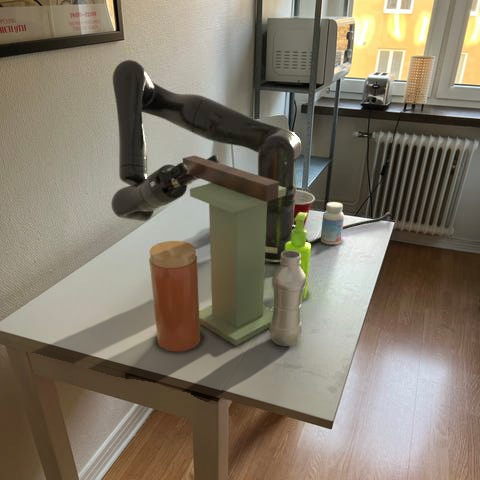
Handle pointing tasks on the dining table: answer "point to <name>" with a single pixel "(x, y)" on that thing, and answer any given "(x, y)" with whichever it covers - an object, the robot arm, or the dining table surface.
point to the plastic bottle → (287, 299)
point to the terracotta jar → (175, 294)
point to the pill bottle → (332, 223)
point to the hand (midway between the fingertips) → (201, 163)
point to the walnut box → (232, 178)
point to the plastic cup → (302, 204)
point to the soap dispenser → (300, 246)
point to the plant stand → (236, 263)
